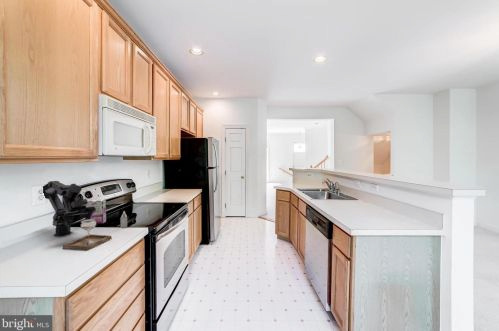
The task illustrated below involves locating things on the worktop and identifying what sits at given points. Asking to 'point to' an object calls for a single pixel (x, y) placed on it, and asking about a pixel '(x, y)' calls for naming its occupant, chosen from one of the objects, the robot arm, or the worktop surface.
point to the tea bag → (123, 220)
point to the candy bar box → (98, 210)
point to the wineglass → (88, 227)
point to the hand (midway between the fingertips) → (80, 225)
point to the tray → (79, 242)
